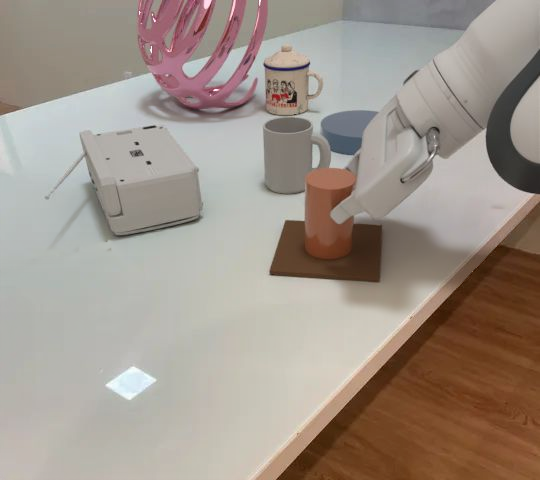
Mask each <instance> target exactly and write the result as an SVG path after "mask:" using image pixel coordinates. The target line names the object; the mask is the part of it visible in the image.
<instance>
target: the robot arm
mask: <svg viewBox="0 0 540 480" xmlns="http://www.w3.org/2000/svg"><path fill="white" fill-rule="evenodd" d="M378 112H379V113H378V114H377V115H376V116H375V117H374V118H373V119H372V120H371V121H370V123H369V124H368V125H367V127H366V128H365V130H364V132H363V136H362V144H361V148H360V149H359V150H358V151H357V152H356V154H355V155H352V157H351V158H350V160H349V161H348V163H347V164H346V165H345V166H344V167H343V168H342V169H345V170H348V171H350V172H352V173H354V174H355V175H356V176H357V182H356V189H355V190H354V191H353V192H352V193H351V195H350V196H349V197H347V198H346V199H344V200H342V199H341V200H340V201H338V202H337V203H336V204H335V205H334V206H333V207H332V208H331V213H330V216H331V218H332V219H333V220H334V221H335V222H336V223H337V224H342V223H343V222H344V221H346V220H347V219H348V218H349V217H351V216H353V215H355V216H356V215H358V214H361V213H364V212H365V213H366V214H367V215H369V217H370V218H372V219H373V220H379V219H382V218H385V217H387V215H389V214H390V213H391V212H393V211H394V210H395V209H396V208H397V207H398V206H400V205H401V204H402V203H403V202H404V201H406V200H407V199H408V197H409V196H411V195H412V194H413V193H414V192H415V191H416V190H418V189H419V188H420V187H421V186H422V185H423V184H424V183H425V182H426V180H428V178H429V177H430V175H431V174H432V172H433V170H434V161H433V160H434V158H435V157H436V156H439V157H440V158H441V159H444V160H448V159H449V158H450V157H452V156H453V155H454V154H456V153H457V152H458V151H460V150H461V149H462V148H463V147H465V146H466V145H467V144H468V143H470V142H471V141H472V140H473V139H474V138H476V137H477V136H478V135H479V134H481V133H482V132H484V131H485V147H486V154H487V157H488V159H489V162H490V164H491V166H492V168H493V169H494V171H495V172H496V174H497V175H498V176H499V177H500V178H501V179H502V180H503V181H504V182H505V183H506V184H507V185H509V186H511V187H513V188H514V189H516V190H518V191H521V192H524V193H528V194H534V195H540V0H494V1H493V2H492V3H491V4H490V5H489V6H487V8H485V9H484V10H483V11H482V12H481V13H480V14H479V15H478V16H477V17H476V18H474V20H472V21H471V22H470V24H469V25H468V26H467V28H466V30H465V31H464V33H463V34H462V35H461V37H459V39H458V40H457V41H456V42H454V44H452V45H451V46H450V47H448V48H446V49H445V50H443V51H441V52H439V53H437V54H436V55H435V56H433V57H432V58H431V59H430V61H428V62H427V63H426V64H425V65H424V66H423V67H422V68H416V69H414V70H413V71H412V72H411V73H409V74H408V76H406V77H405V79H404V80H403V82H402V87H400V88H399V89H398V90H397V92H396V94H395V95H394V96H392V98H390V99H389V101H388V102H387V103H386V104H385V105H384V106H383V107H382V108H381V109H380V110H379V111H378Z"/></svg>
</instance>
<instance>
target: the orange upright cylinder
mask: <svg viewBox="0 0 540 480" xmlns="http://www.w3.org/2000/svg"><path fill="white" fill-rule="evenodd" d="M356 182H357V176H356V175H355V174H354V173H352V172H350V171H348V170H345V169H343V168H340V167H339V168H338V167H329V168H322V169H317V170H314V171H312V172H310V173H308V174H307V175H306V177H305V190H304V221H305V224H304V248H305V251H306V252H307V253H308V254H310V255H311V256H314V257H316V258H321V259H337V258H341V257H344V256H346V255H347V254H349V253H350V252H351V250H352V243H353V229H354V224H355V216H356V215H353V216H351V217H349V218H348V219H347V220H346V221H344V222H343V223H342V224H337V223H336V222H335V221H334V220H333V219H332V218H331V216H330V213H331V208H332V207H333V206H334V205H335V204H336V203H337V202H338V201H340V200H341V199H342V200H344V199H346V198H347V197H349V196H350V195H351V193H352V192H353V191H354V190H355V189H356Z"/></svg>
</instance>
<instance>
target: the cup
mask: <svg viewBox="0 0 540 480" xmlns="http://www.w3.org/2000/svg"><path fill="white" fill-rule="evenodd" d="M262 137H263V139H262V140H263V167H264V183H265V185H266V187H267V189H269V191H271V192H273V193H277V194H284V195H292V194H298V193H302V192H305V177H306V175H307V174H308V173H310V172H312V171H314V170H317V169H322V168H330V166H331V162H332V151H331V150H330V146H329V143H328V141H327V140H326V139H325V138H324V136H323V135H320V133H318V132H314V123H313V122H312V121H311V120H309V119H308V118H304V117H298V116H281V117H280V116H279V117H275V118H271V119H268V120H266V121H265V122H264V123H263V124H262ZM313 145H316V146H317V147H318V151H319V161H318V162H319V163H318V164H317V166H316V167H313Z"/></svg>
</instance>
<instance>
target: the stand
mask: <svg viewBox="0 0 540 480" xmlns="http://www.w3.org/2000/svg"><path fill="white" fill-rule="evenodd" d="M379 112H380V111H378V110H377V111H375V110H367V109H366V110H365V109H364V110H363V109H356V110H355V109H353V110H344V111H338V112H334V113H331V114H328V115H326V116H325V117H323V118H322V120H321V121H320V129H319V132H320V133H319V134H320V135H323V136H324V138H325V139H326V140H327V141H328V143H329V146H330V150H331V152H334V153H338V154H344V155H351V156H354V155H355V154H356V152H357V151H358V150H359V149H360V148H361V144H362V136H363V132H364V130H365V128H366V127H367V125H368V124H369V123H370V121H371V120H372V119H373V118H374V117H375V116H376V115H377V114H378V113H379Z"/></svg>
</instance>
